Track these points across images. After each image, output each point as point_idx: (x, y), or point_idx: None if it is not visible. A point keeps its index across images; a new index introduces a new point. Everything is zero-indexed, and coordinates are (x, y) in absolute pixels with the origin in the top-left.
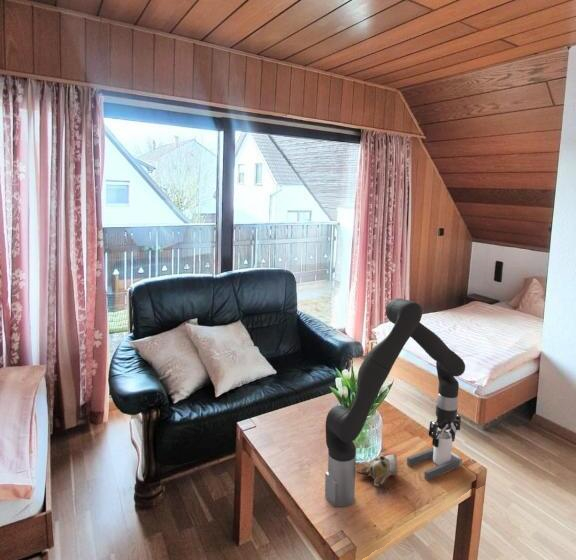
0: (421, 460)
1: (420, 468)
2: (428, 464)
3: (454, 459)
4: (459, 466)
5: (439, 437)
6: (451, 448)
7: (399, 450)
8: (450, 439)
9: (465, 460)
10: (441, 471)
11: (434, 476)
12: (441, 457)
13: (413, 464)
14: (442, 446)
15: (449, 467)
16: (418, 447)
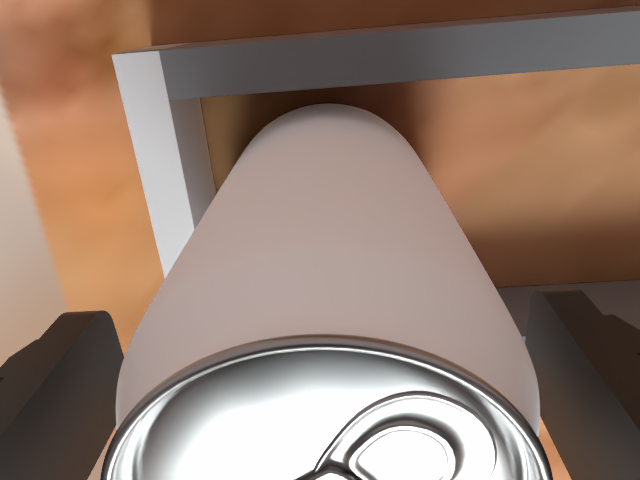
0: (517, 292)
1: (624, 203)
2: (489, 221)
3: (230, 91)
4: (184, 43)
5: (537, 478)
6: (235, 191)
7: (556, 467)
8: (250, 308)
9: (36, 109)
10: (522, 17)
11: (637, 6)
12: (425, 170)
13: (630, 280)
14: (471, 254)
15: (370, 30)
16: None
